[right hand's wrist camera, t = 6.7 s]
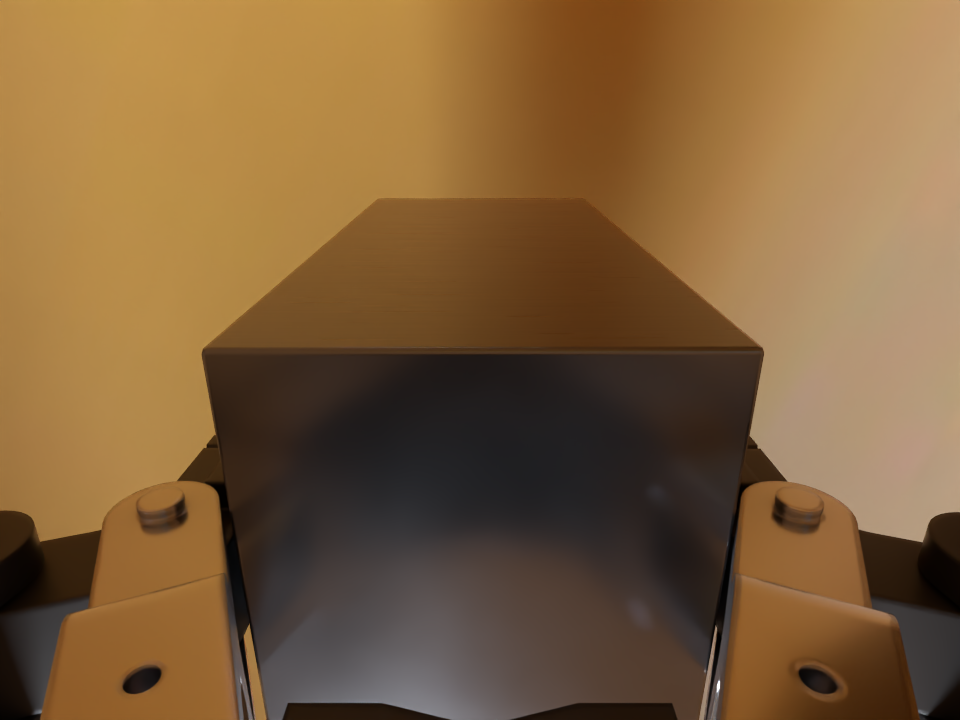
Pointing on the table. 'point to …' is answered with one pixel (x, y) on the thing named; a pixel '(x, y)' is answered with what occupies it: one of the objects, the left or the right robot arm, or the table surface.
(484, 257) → the box
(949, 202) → the table surface
